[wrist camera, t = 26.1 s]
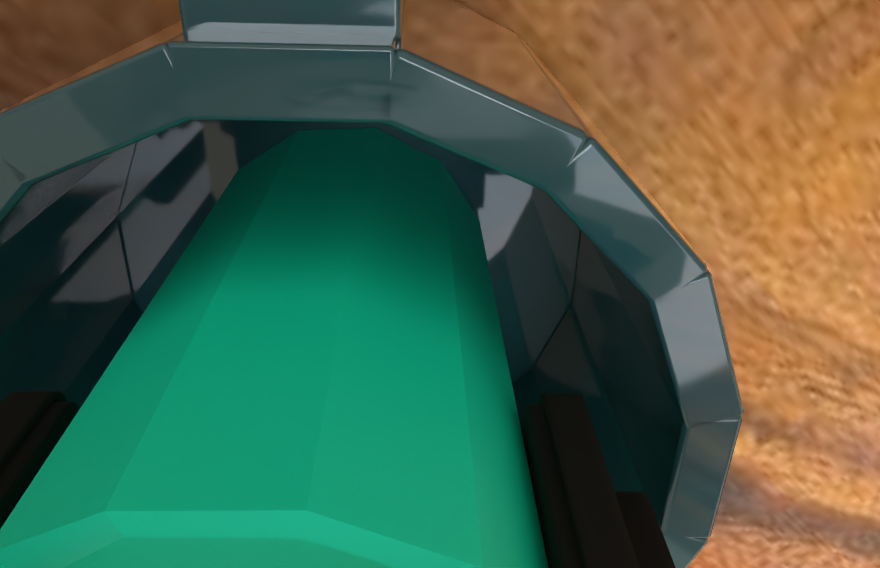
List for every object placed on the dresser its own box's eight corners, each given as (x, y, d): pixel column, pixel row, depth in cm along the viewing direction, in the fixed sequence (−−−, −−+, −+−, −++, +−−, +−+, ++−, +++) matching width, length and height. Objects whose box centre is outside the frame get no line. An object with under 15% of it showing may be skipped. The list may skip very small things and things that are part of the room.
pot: (156, 523, 20) (29, 823, 14) (2, -202, 13) (-466, -318, 6) (567, 522, 21) (637, 814, 14) (669, -180, 13) (933, -266, 6)
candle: (440, 86, 14) (505, 598, 4) (512, 332, 17) (668, 1027, 7) (163, 172, 15) (-430, 809, 5) (275, 395, 18) (69, 1122, 7)
